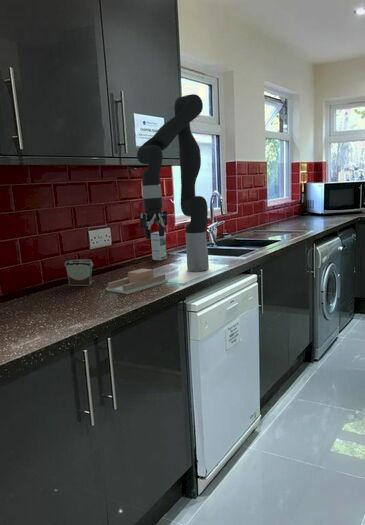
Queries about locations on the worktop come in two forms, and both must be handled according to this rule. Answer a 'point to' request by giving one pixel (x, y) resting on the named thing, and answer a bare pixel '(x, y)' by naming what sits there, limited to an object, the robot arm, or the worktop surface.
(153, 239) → the white pill bottle
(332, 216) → the worktop surface
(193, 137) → the robot arm
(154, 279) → the chute
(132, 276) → the block
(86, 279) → the food container
